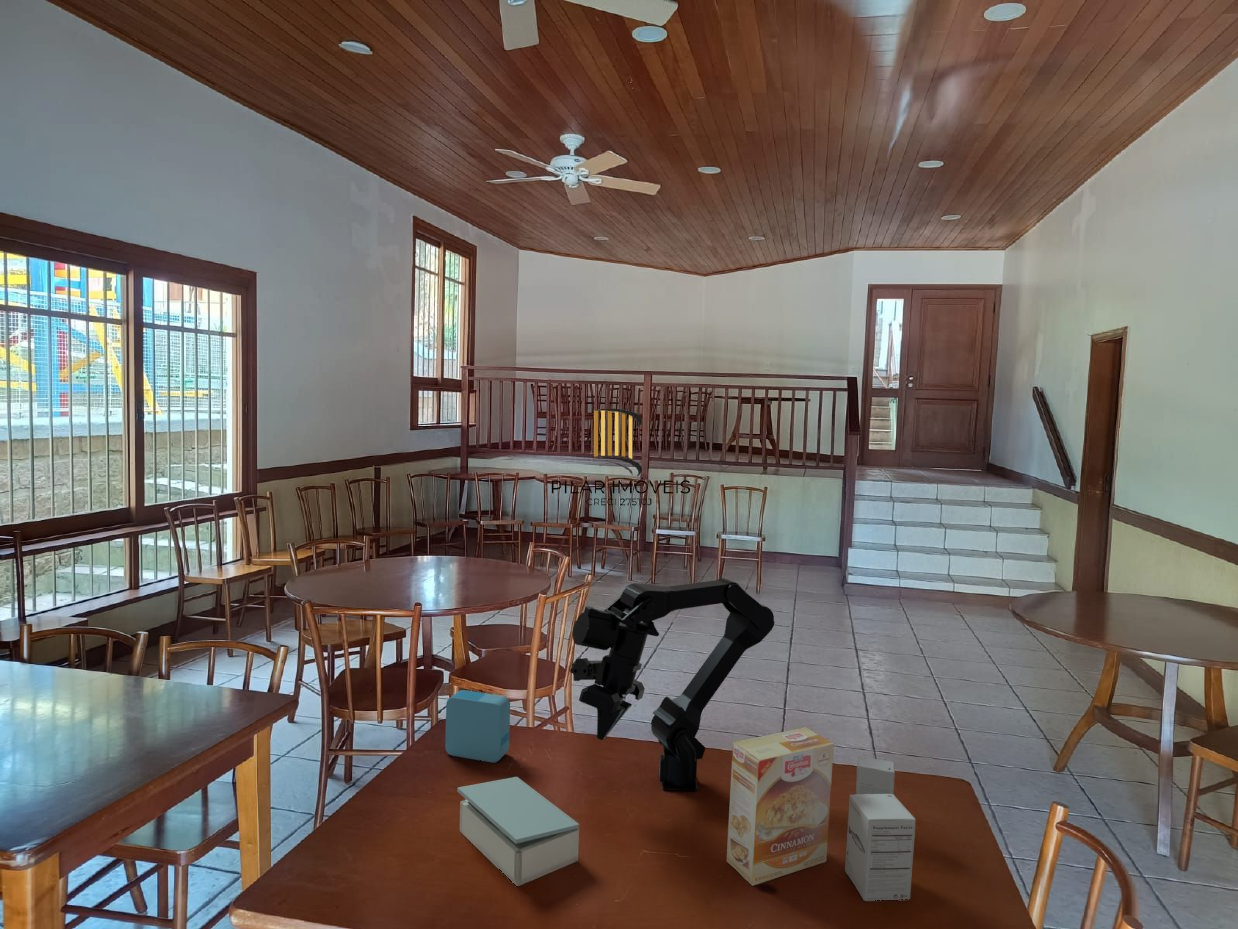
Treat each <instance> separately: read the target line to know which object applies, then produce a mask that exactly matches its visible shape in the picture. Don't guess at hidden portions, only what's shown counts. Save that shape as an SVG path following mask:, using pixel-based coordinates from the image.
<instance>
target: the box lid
mask: <svg viewBox="0 0 1238 929" xmlns="http://www.w3.org/2000/svg"><path fill="white" fill-rule="evenodd" d="M456 792H457V793H458V794H460V795H461V796H462V797H463V798H464V800H467V801H469V802H470V803H471V804H472V805H473V806H474V807H475V808H476V809H478V810H479V811H480V812H481V813H482V814H483V815H484V816H485V817H486V818H488V819H489V820H490V821H491V822H492V823H493V824H494V825H495V826H496V827H498V828H499V829H500V830H501V831H502V832H503V833H504V834H505V835H507V836H508V837H509V838H510V839H511V840H512V841H513V842H514V843H515V844H517V843H521V842H525V841H529V840H533V839H537V838H541V837H545V836H549V835H553V834H557V833H561V832H565V831H569V830H573V829H579V828H580V823H578V822H577V821H576V820H575V819H574V818H572V817H570V816H569V815H568V814H567V813H565V812H564V811H563V810H561V809H560V808H559V807H557V806H556V805H555V804H554V803H552V802H551V801H550V800H548V799H547V798H546V797H544V796H543V795H542V794H540V793H539V792H538V791H536V790H535V789H534V788H532V787H531V786H530V785H528V784H527V783H526V782H524V781H523V779H521V778H519V776H513V777H508V778H502V779H497V780H492V781H486V782H482V783H480V782H479V783H475V784H470V785H464V786H458V787H457V790H456Z"/></svg>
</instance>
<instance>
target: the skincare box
mask: <svg viewBox="0 0 1238 929" xmlns="http://www.w3.org/2000/svg"><path fill="white" fill-rule="evenodd" d="M856 764H857V765H856V785H855V794H894V790H895V789H894V788H895V774H896V772H895V763H894V761H889V760H883V759H877V758H872V757H865V756H859V755H858V757H857V763H856ZM894 795H895V794H894Z"/></svg>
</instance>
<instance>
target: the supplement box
mask: <svg viewBox="0 0 1238 929" xmlns="http://www.w3.org/2000/svg"><path fill="white" fill-rule="evenodd" d="M848 801H849V804H848V817H847V833H846V849H845V850H846V851H845V864H844V872H845V874H846V875H847V876H848V877H849V879H850V881H851V882H852V883H853V885H854V886H855V888H856V890H857V891H858V893H859V895H860V896H861V898H862V900H863V901H864V902H878V901H877V900H880V901H879V902H882V901H881V900H898V901H906V900H905V899H908V900H907V901H909V899H910V900H911V889H912V878H913V877H912V874H913V861H914V849H915V848H914V847H915V836H916V820H917V819H916V817H915V816H914V815H913V814H912V813H911V812H910V811H909V810H908V809H907V808H906V806H905V805H903V803H902V802H901V801H900V800H899V799H898V798H897V796H896V795H895V794H856V793H855V794H850V795H849V800H848ZM899 899H900V900H899ZM901 899H903V900H901ZM875 900H876V901H875Z"/></svg>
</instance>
